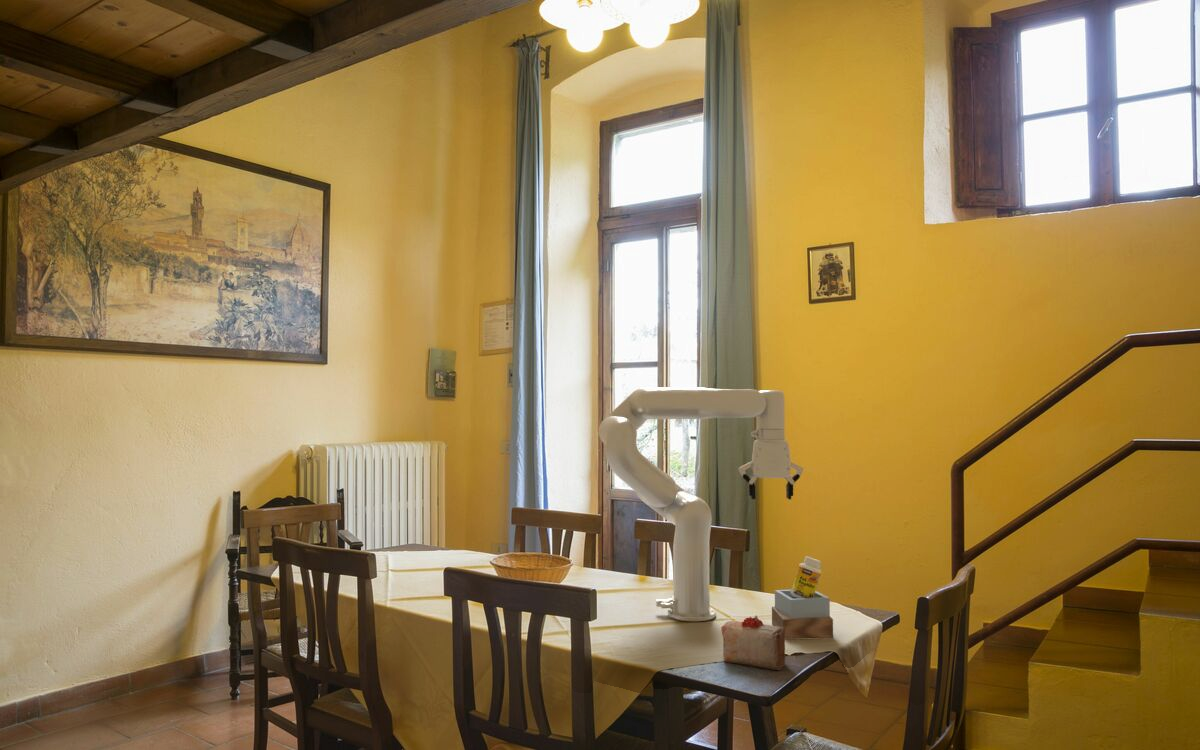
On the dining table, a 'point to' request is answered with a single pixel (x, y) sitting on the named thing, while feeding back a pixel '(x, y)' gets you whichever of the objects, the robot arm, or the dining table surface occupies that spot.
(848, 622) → the dining table surface
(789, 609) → the tower top
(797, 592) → the supplement bottle
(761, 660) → the food item
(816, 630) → the tower base
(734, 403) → the robot arm
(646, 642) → the dining table surface
